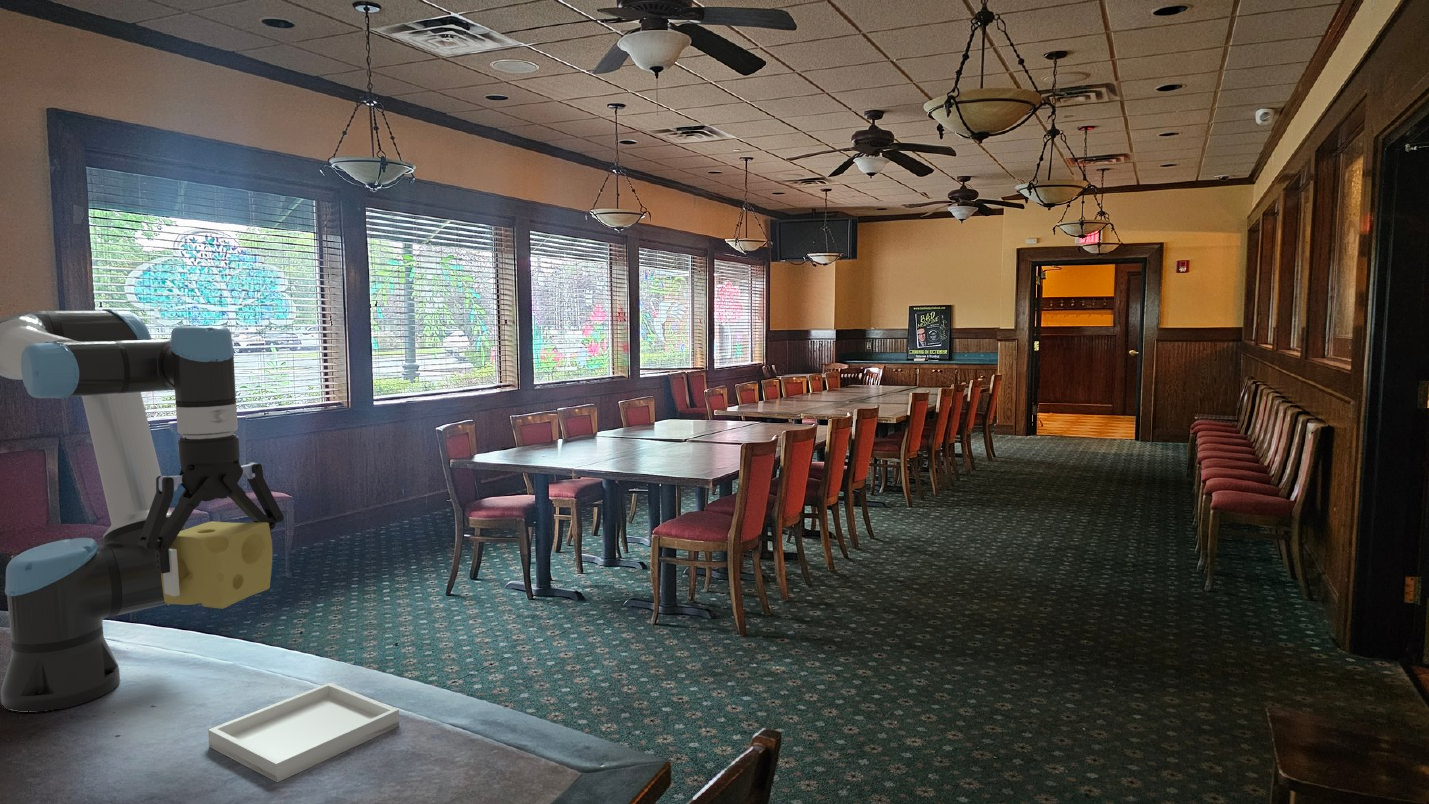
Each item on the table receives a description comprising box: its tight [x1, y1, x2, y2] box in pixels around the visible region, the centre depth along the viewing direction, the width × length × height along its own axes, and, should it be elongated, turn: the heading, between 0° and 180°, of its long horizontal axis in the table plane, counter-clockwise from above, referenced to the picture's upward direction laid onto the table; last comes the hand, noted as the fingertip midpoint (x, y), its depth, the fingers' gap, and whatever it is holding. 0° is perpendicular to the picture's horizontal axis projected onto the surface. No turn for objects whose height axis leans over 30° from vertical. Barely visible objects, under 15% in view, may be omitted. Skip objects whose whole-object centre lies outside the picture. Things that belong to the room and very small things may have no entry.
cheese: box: [161, 521, 273, 610], centre depth 131 cm, size 10×11×10 cm
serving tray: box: [207, 682, 400, 783], centre depth 128 cm, size 17×19×2 cm
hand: (218, 582), depth 131 cm, fingers closed on cheese, 12 cm apart
